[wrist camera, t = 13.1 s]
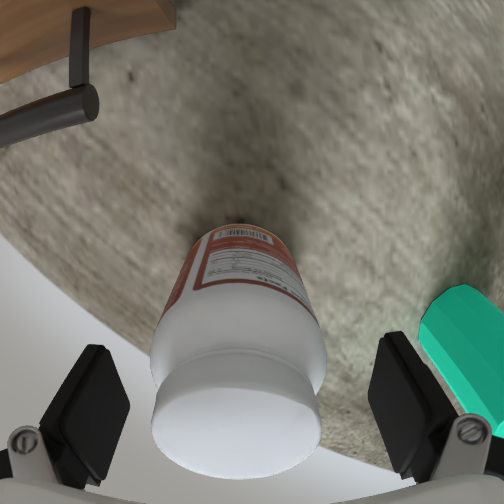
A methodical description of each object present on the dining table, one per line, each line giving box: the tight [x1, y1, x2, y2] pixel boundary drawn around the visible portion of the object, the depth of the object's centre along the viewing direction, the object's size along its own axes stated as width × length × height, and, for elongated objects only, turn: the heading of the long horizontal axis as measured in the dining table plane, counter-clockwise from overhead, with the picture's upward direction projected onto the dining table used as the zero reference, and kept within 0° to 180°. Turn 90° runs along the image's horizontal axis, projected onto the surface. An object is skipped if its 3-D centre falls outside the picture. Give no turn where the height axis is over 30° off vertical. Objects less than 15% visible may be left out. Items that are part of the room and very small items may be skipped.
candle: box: [418, 284, 504, 438], centre depth 14 cm, size 6×6×12 cm
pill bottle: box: [150, 224, 327, 479], centre depth 12 cm, size 6×6×11 cm
